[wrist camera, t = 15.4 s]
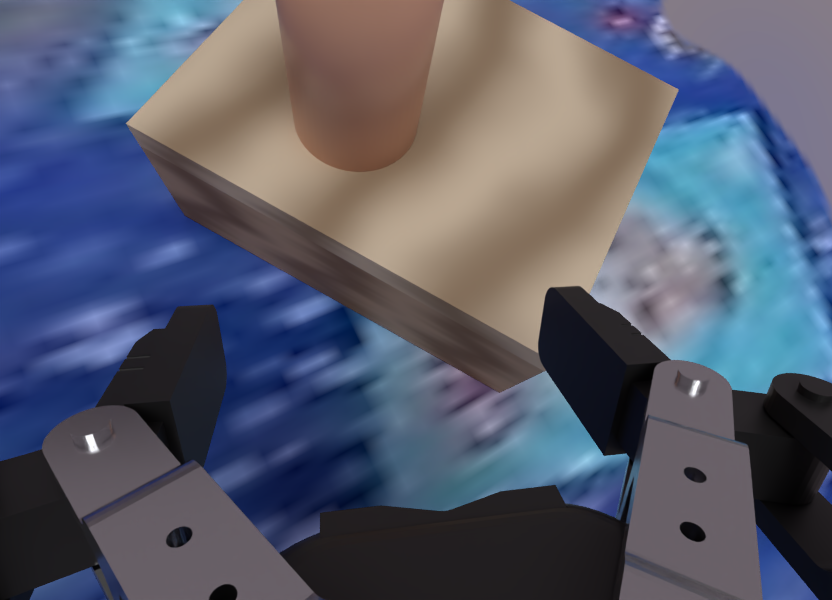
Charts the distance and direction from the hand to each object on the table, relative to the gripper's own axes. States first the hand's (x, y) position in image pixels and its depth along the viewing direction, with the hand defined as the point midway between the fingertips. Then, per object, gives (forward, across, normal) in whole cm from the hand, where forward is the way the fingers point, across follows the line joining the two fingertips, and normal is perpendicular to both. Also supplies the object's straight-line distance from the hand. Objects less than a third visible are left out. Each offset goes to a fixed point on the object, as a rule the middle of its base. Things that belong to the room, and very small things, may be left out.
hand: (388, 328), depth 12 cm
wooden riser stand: (+19, -4, +2) cm, 19 cm away
